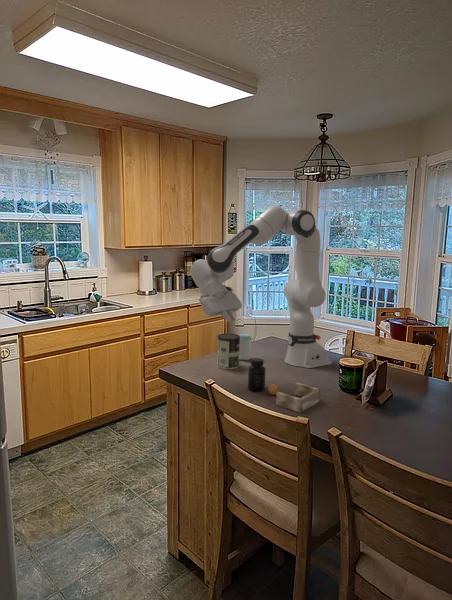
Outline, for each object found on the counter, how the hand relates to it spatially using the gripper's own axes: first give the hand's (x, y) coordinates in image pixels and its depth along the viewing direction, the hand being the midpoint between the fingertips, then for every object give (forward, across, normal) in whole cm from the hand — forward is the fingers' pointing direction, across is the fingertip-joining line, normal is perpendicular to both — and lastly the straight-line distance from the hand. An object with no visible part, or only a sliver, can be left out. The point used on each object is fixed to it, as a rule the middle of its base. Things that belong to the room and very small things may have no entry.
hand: (231, 320), depth 174 cm
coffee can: (+9, +14, +27) cm, 32 cm away
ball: (+32, 0, +1) cm, 32 cm away
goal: (+40, 0, -5) cm, 41 cm away
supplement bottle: (+28, 0, +8) cm, 29 cm away
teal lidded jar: (+8, +28, +28) cm, 40 cm away
